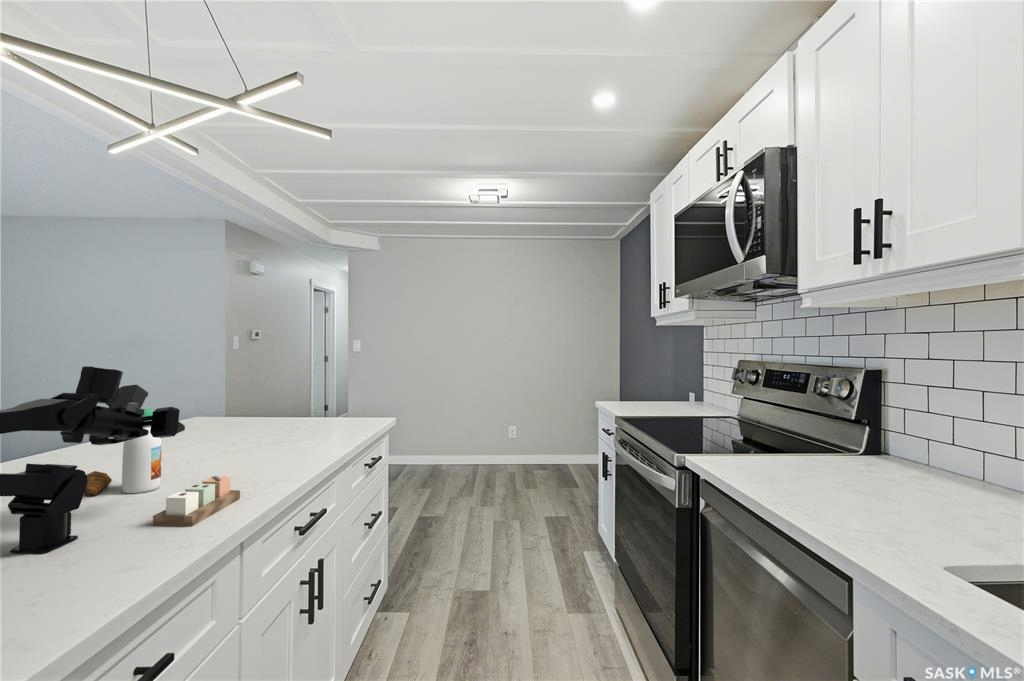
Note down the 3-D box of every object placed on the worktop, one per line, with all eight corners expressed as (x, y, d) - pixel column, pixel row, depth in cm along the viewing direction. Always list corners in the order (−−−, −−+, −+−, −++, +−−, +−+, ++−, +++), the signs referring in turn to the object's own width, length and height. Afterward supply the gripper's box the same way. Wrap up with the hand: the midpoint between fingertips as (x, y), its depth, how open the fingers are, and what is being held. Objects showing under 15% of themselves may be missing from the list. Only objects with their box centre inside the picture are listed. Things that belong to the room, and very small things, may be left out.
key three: (219, 499, 108) (219, 480, 108) (201, 499, 108) (202, 480, 108) (229, 493, 112) (230, 476, 112) (212, 493, 112) (213, 475, 112)
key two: (203, 507, 103) (203, 488, 103) (184, 507, 103) (185, 488, 103) (214, 501, 107) (215, 483, 107) (196, 501, 107) (197, 482, 107)
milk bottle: (139, 495, 114) (141, 412, 115) (113, 493, 116) (115, 411, 116) (168, 486, 122) (170, 408, 122) (143, 483, 124) (145, 407, 124)
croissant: (79, 486, 121) (79, 467, 121) (113, 482, 125) (114, 463, 125) (72, 501, 111) (72, 479, 111) (110, 495, 115) (110, 475, 115)
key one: (185, 517, 97) (185, 497, 97) (165, 517, 97) (166, 496, 97) (198, 510, 101) (198, 490, 101) (179, 510, 101) (179, 490, 101)
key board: (192, 526, 96) (192, 516, 96) (152, 525, 96) (153, 515, 96) (240, 498, 113) (240, 490, 113) (206, 498, 113) (206, 489, 113)
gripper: (151, 377, 98) (206, 392, 113) (69, 388, 100) (134, 401, 115) (144, 431, 95) (201, 439, 110) (59, 442, 96) (127, 448, 111)
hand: (166, 430), depth 111 cm, fingers open, 9 cm apart
